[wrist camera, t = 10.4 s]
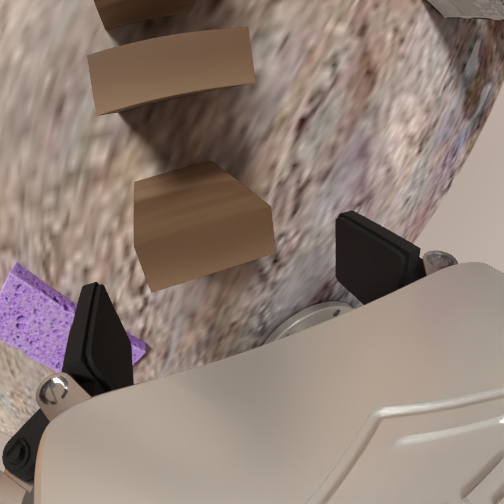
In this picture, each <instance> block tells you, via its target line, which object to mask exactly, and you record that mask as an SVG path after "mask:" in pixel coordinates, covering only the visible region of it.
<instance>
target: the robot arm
mask: <svg viewBox="0 0 504 504" xmlns="http://www.w3.org/2000/svg"><path fill="white" fill-rule="evenodd" d="M419 255H420V248H419V247H417V246H415V245H414V244H412V243H410V242H409V241H407V240H405V239H403V238H402V237H400V236H398V235H397V234H395V233H393V232H391V231H389V230H388V229H386V228H384V227H382V226H380V225H379V224H377V223H375V222H373V221H371V220H369V219H368V218H366V217H364V216H362V215H360V214H358V213H356V212H354V211H348V212H344V213H341V214H339V216H338V218H337V219H336V278H337V280H338V281H339V282H340V283H341V284H342V285H343V286H344V287H345V288H346V289H347V290H348V291H350V292H351V293H352V294H353V295H354V296H355V297H356V298H357V299H358V300H359V301H360V302H362V303H363V304H364V306H361V307H359V308H357V309H354V308H353V307H351V306H350V305H349V304H347V303H344V302H339V301H330V302H323V303H320V304H316V305H313V306H310V307H308V308H306V309H304V310H302V311H300V312H298V313H297V314H295V315H293V316H292V317H290V318H289V319H287V320H286V321H285V322H284V323H282V324H281V325H280V326H279V327H278V328H277V329H276V330H275V331H274V332H273V333H272V334H271V335H270V336H269V337H268V339H267V340H266V341H265V343H264V344H263V346H260V347H257V348H254V349H251V350H248V351H245V352H242V353H240V354H237V355H234V356H231V357H228V358H224V359H221V360H218V361H215V362H212V363H209V364H206V365H202V366H199V367H196V368H192V369H189V370H186V371H182V372H179V373H175V374H171V375H168V376H164V377H160V378H157V379H153V380H149V381H145V382H142V383H138V384H135V385H134V383H133V365H132V346H131V342H130V339H129V337H128V335H127V333H126V331H125V329H124V327H123V325H122V323H121V321H120V319H119V317H118V315H117V313H116V311H115V309H114V306H113V304H112V302H111V300H110V298H109V296H108V293H107V291H106V289H105V287H104V285H103V284H101V285H99V284H98V283H97V282H94V283H91V284H88V285H84V286H83V287H82V290H81V293H80V297H79V300H78V304H77V308H76V312H75V315H74V320H73V324H72V326H71V328H70V332H69V336H68V341H67V346H66V350H65V355H64V360H63V366H62V371H61V372H59V373H54V374H51V375H49V376H48V377H46V378H45V379H44V380H43V381H42V382H41V383H40V385H39V387H38V388H37V392H36V401H37V404H38V405H39V407H40V409H39V410H38V411H37V412H36V413H35V414H34V415H33V416H32V417H31V418H30V419H29V420H28V421H27V422H26V423H25V424H24V425H23V426H22V427H21V429H20V430H19V431H18V432H17V433H16V434H15V435H14V436H13V437H12V438H11V439H10V440H9V441H8V443H7V444H6V446H5V448H4V450H3V456H2V458H3V464H4V466H5V468H6V469H5V471H4V472H2V471H1V470H0V504H504V273H502V272H501V271H499V270H497V269H495V268H493V267H492V266H490V265H487V264H485V263H480V262H468V263H460V264H458V262H457V260H456V259H455V258H454V257H453V256H452V255H450V254H448V253H446V252H443V251H429V252H427V253H425V254H424V256H423V259H421V258H420V257H419Z"/></svg>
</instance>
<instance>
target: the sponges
mask: <svg viewBox="0 0 504 504" xmlns="http://www.w3.org/2000/svg"><path fill="white" fill-rule="evenodd" d="M76 308H77V304H76V303H75V302H73V301H72V300H70V299H68V298H67V297H65V296H64V295H62V294H60V293H59V292H57V291H55V289H53V288H52V287H51V286H49V285H48V284H46V283H45V282H43V281H42V280H41V279H39V278H38V277H37V276H35V275H34V274H32V273H31V272H30V271H28V270H27V269H26V268H24V267H23V266H21V265H20V264H19V263H17V262H16V263H15V265H14V266H13V268H12V269H11V271H10V273H9V275H8V277H7V279H6V281H5V283H4V285H3V288H2V290H1V292H0V339H1V340H3V341H4V342H5V343H7V344H9V345H10V346H13V347H14V348H16V349H22V350H23V351H24V354H26V355H28V356H30V357H31V358H32V359H34V360H36V361H37V362H40V363H43V364H44V365H45V366H47V367H49V368H51V369H52V370H54V371H56V372H58V373H59V372H61V371H62V366H63V360H64V355H65V350H66V346H67V341H68V336H69V332H70V328H71V326H72V324H73V320H74V315H75V312H76ZM127 335H128V337H129V339H130V342H131V346H132V365H134V363H136V362H137V361H138V360H139V359H140V358H141V357H142V356H143V354H145V353H146V351H145V350H146V343H145V342H144V341H141V340H140V339H137V338H135V337H134V336H132V335H130V334H128V333H127Z"/></svg>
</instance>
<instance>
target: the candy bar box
mask: <svg viewBox="0 0 504 504" xmlns="http://www.w3.org/2000/svg"><path fill="white" fill-rule="evenodd" d="M426 1H427V2H428V3H429V4H430V5H432V6H433V7H434V8H435V9H436V10H437V11H438V12H439V13H440V14H441V15H442V16H443V17H444V18H471V19H492V20H502V21H504V0H426Z"/></svg>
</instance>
